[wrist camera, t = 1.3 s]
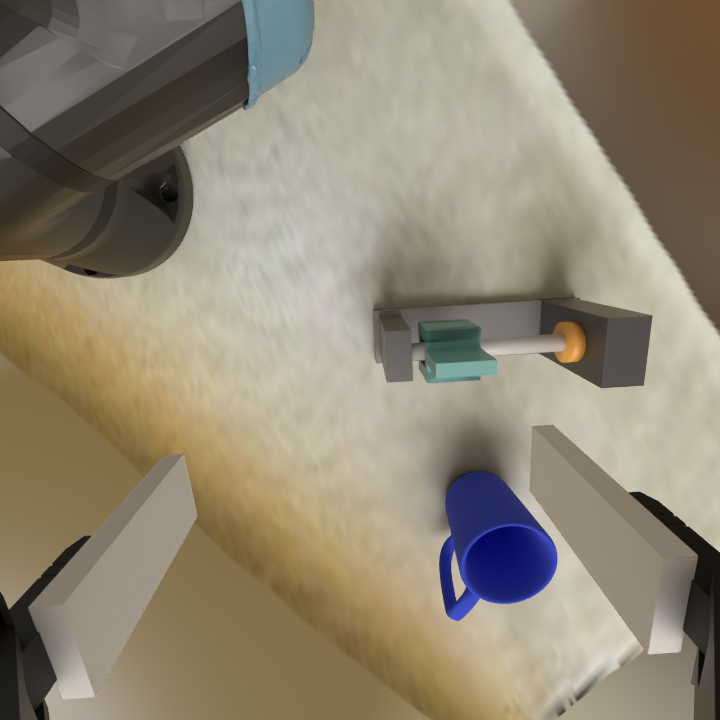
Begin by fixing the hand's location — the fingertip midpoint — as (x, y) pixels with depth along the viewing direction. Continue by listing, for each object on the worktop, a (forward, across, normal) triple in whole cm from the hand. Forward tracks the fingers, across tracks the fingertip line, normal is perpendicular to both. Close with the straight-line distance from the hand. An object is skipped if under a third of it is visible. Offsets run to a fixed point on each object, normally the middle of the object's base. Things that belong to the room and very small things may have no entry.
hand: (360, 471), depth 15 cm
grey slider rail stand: (+24, +11, 0) cm, 27 cm away
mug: (+24, +10, -20) cm, 33 cm away
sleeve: (+19, +7, 0) cm, 21 cm away
